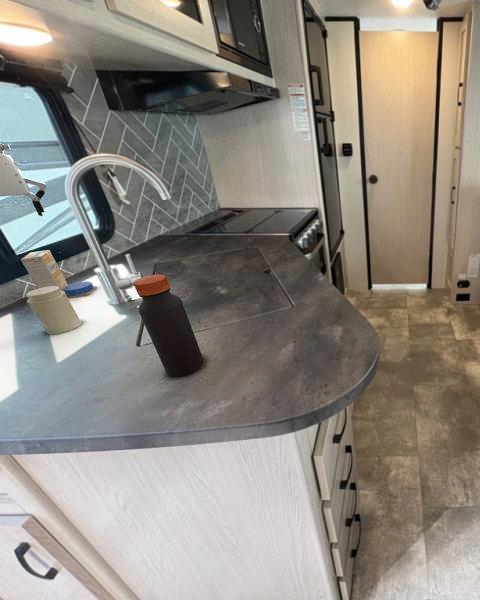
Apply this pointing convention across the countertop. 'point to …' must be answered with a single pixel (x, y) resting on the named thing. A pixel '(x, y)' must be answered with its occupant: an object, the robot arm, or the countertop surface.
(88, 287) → the jam lid
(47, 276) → the supplement box
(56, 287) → the jam jar
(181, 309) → the bottle
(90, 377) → the countertop surface
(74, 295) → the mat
